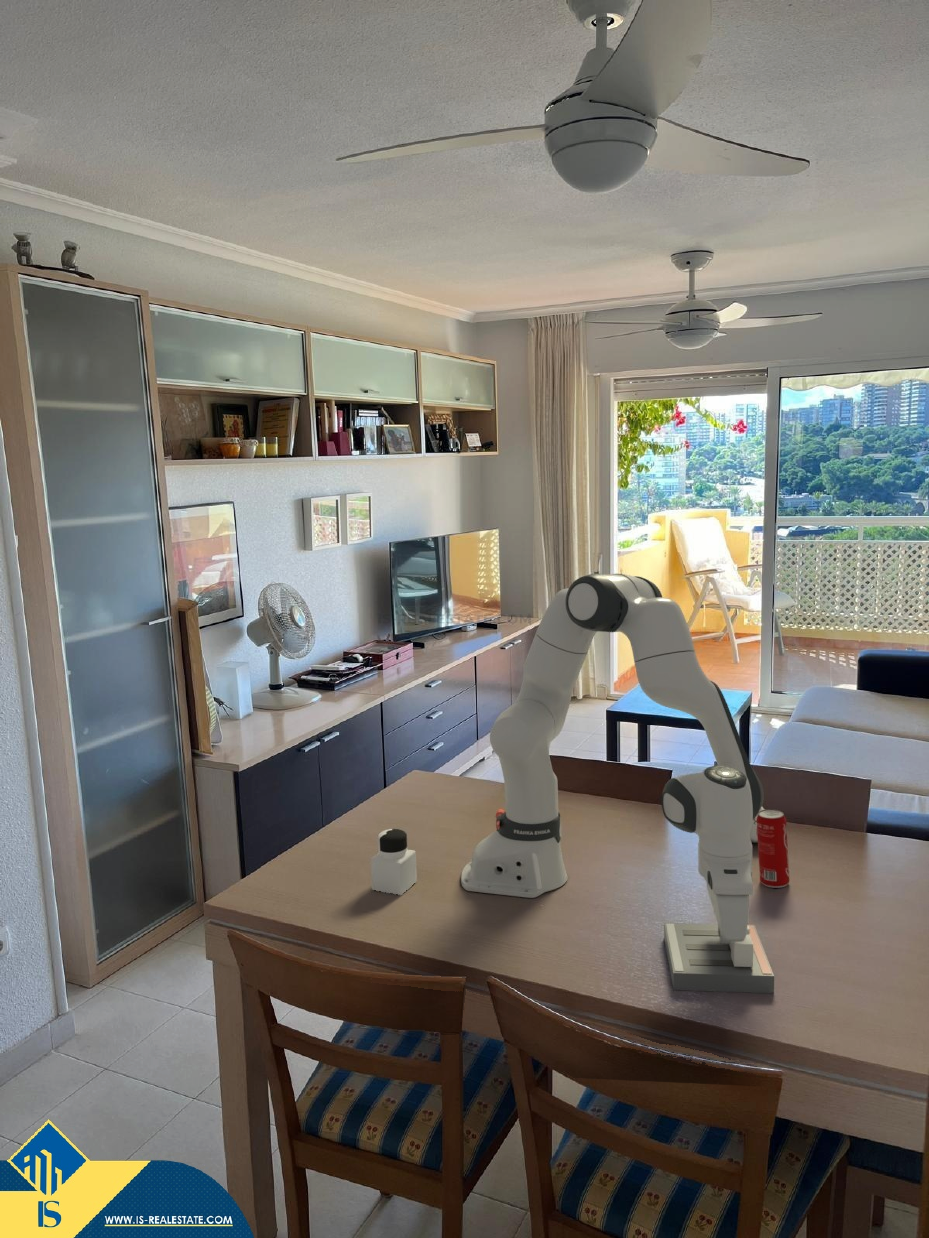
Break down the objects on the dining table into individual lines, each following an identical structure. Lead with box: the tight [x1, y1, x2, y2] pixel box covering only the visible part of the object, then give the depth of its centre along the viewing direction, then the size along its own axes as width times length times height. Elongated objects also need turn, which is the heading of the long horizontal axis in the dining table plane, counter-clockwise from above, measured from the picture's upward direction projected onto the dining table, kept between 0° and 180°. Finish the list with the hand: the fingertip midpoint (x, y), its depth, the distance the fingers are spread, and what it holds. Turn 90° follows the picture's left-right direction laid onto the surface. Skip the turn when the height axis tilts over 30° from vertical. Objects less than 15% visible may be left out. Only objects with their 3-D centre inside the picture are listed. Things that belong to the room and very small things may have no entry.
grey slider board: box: [663, 922, 775, 994], centre depth 157 cm, size 16×17×3 cm
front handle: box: [731, 935, 753, 967], centre depth 151 cm, size 3×3×4 cm
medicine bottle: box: [370, 828, 418, 896], centre depth 191 cm, size 7×7×12 cm
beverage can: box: [757, 808, 790, 889], centre depth 186 cm, size 6×6×15 cm
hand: (724, 939), depth 156 cm, fingers closed, pressing on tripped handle
